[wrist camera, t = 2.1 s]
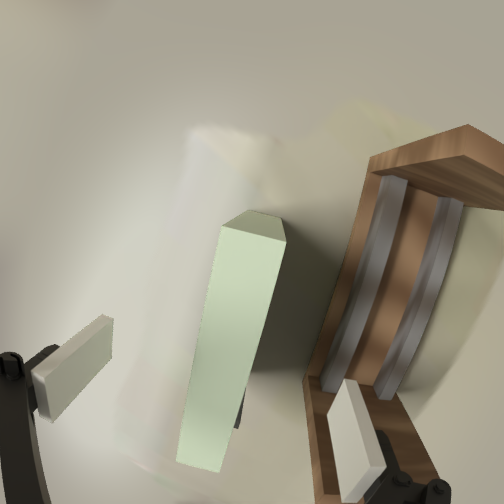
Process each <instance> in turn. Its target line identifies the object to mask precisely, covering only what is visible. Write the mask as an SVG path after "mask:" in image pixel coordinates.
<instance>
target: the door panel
mask: <svg viewBox="0 0 504 504" xmlns="http://www.w3.org/2000/svg"><path fill="white" fill-rule="evenodd" d="M286 243H287V242H286V237H285V233H284V229H283V225H282V221H281V218H278V217H274V216H270V215H266V214H262V213H258V212H254V211H250V210H247V211H245V212H244V213H242V214H240V215H239V216H237V217H235V218H234V219H232V220H230V221H229V222H227V223H226V224H224V225H222V227H221V231H220V235H219V240H218V244H217V249H216V253H215V258H214V262H213V267H212V271H211V276H210V281H209V285H208V290H207V295H206V300H205V304H204V309H203V314H202V319H201V324H200V329H199V334H198V339H197V344H196V349H195V354H194V360H193V365H192V370H191V375H190V381H189V386H188V392H187V397H186V403H185V408H184V414H183V420H182V426H181V432H180V438H179V444H178V450H177V456H176V462H179V463H183V464H186V465H190V466H193V467H197V468H201V469H204V470H208V471H212V472H217V473H219V471H220V468H221V465H222V462H223V459H224V456H225V452H226V449H227V446H228V443H229V440H230V437H231V434H232V430H233V428H237V429H238V427H239V424H240V421H241V415H242V409H243V402H244V396H245V390H246V385H247V381H248V378H249V375H250V371H251V368H252V365H253V361H254V358H255V354H256V351H257V347H258V344H259V341H260V337H261V334H262V330H263V327H264V323H265V320H266V316H267V312H268V309H269V305H270V302H271V298H272V294H273V291H274V287H275V284H276V280H277V276H278V273H279V269H280V265H281V261H282V258H283V254H284V250H285V246H286Z"/></svg>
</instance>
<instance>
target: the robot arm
mask: <svg viewBox="0 0 504 504" xmlns="http://www.w3.org/2000/svg"><path fill="white" fill-rule="evenodd" d="M112 336H113V318H111V317H108V316H105V315H103V314H102V315H101V316H99V317H98V318H97V319H95V320H94V321H93V322H91V323H90V324H89V325H88V326H86V327H85V328H84V329H82V330H81V331H80V332H79V333H78V334H76V335H75V336H73V337H72V338H71V339H70V340H68V341H67V342H66V343H65V344H63V345H62V346H61V347H60V346H58V345H56V344H54V345H51V346H48V347H46V348H44V349H43V350H42V351H41V352H40V353H38V354H36V355H35V356H34V357H33V358H31V359H30V360H29V361H27V362H26V363H25V364H24V363H23V359H22V357H21V356H20V355H19V354H17V353H15V352H4V353H2V354H0V458H1V469H2V478H3V485H4V492H5V498H6V504H51V500H50V497H49V493H48V489H47V485H46V481H45V476H44V472H43V467H42V463H41V458H40V452H39V447H38V440H37V435H36V427H35V419H34V414H33V412H34V411H35V410H36V409H37V408H38V412H39V416H40V417H42V418H43V419H45V420H47V421H49V422H50V423H53V422H54V421H55V420H56V419H57V418H58V417H59V415H60V414H61V413H62V412H63V411H64V410H65V409H66V408H67V407H68V405H69V404H70V403H71V402H72V401H73V400H74V399H75V398H76V397H77V395H78V394H79V393H80V392H81V391H82V390H83V389H84V388H85V387H86V385H87V384H88V383H89V382H90V381H91V380H92V379H93V378H94V377H95V376H96V375H97V373H98V372H99V371H100V370H101V369H102V368H103V367H104V366H105V365H106V364H107V363H108V361H110V359H111V358H112ZM327 418H328V423H329V429H330V435H331V440H332V446H333V452H334V458H335V463H336V470H337V476H338V482H339V488H340V495H341V501H342V503H357V502H358V501H359V500H360V499H361V498H362V497H364V501H365V503H364V504H450V503H451V487H450V486H449V484H448V483H447V482H446V481H444V480H442V479H437V478H436V479H432V480H431V481H430V482H429V483H428V484H427V485H425V484H420V483H416V482H413V479H412V478H411V476H410V475H409V474H407V473H406V472H403V471H401V470H400V467H399V464H398V461H397V459H396V456H395V453H394V451H393V448H392V446H391V443H390V440H389V438H388V436H387V435H386V434H385V433H384V432H383V430H374V428H373V425H372V422H371V419H370V416H369V413H368V411H367V408H366V405H365V402H364V400H363V397H362V394H361V391H360V389H359V386H358V383H357V381H356V380H349V379H344V380H343V382H342V384H341V387H340V389H339V391H338V393H337V395H336V397H335V399H334V402H333V404H332V406H331V408H330V410H329V412H328V414H327Z"/></svg>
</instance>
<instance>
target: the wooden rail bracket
mask: <svg viewBox="0 0 504 504" xmlns="http://www.w3.org/2000/svg"><path fill="white" fill-rule="evenodd" d="M463 206H468V207H477V208H485V209H493V210H501V211H504V144H502V143H500V142H499V141H497V140H495V139H494V138H492V137H490V136H489V135H487V134H485V133H483V132H482V131H480V130H478V129H476V128H474V127H473V126H471V125H469V124H467V125H464V126H461V127H457V128H455V129H451V130H448V131H445V132H442V133H439V134H436V135H433V136H430V137H427V138H424V139H421V140H418V141H415V142H412V143H409V144H406V145H403V146H400V147H398V148H395V149H392V150H389V151H386V152H383V153H381V154H378V155H375V156H372V157H370V160H369V165H368V169H367V173H366V178H365V182H364V186H363V190H362V194H361V198H360V202H359V206H358V210H357V214H356V218H355V222H354V225H353V229H352V233H351V236H350V240H349V244H348V247H347V251H346V254H345V257H344V261H343V264H342V268H341V271H340V274H339V277H338V281H337V284H336V287H335V290H334V293H333V296H332V300H331V303H330V306H329V309H328V312H327V315H326V318H325V321H324V324H323V326H322V329H321V332H320V335H319V338H318V341H317V344H316V346H315V349H314V352H313V355H312V357H311V360H310V363H309V365H308V368H307V371H306V373H305V376H304V378H303V381H302V384H303V392H304V400H305V409H306V418H307V427H308V436H309V445H310V455H311V465H312V475H313V486H314V497H315V504H364V503H365V501H364V497H362V498H361V499H360V500H359V501H358V502H357V503H342V501H341V495H340V488H339V482H338V476H337V470H336V463H335V458H334V452H333V446H332V440H331V435H330V429H329V423H328V418H327V414H328V412H329V410H330V408H331V406H332V404H333V402H334V399H335V397H336V395H337V393H338V391H339V389H340V387H341V384H342V382H343V380H344V379H349V380H356V381H357V383H358V386H359V389H360V391H361V394H362V397H363V400H364V402H365V405H366V408H367V411H368V413H369V416H370V419H371V422H372V425H373V428H374V430H383V432H384V433H385V434H386V435H387V436H388V438H389V440H390V443H391V446H392V448H393V451H394V453H395V456H396V459H397V461H398V464H399V467H400V470H401V471H403V472H406V473H407V474H409V475H410V476H411V478H412V479H413V482H416V483H420V484H425V485H427V484H428V483H429V482H430V481H431V480H432V479H436V478H437V479H440V477H439V475H438V473H437V471H436V469H435V467H434V465H433V463H432V461H431V459H430V457H429V455H428V453H427V451H426V449H425V447H424V445H423V443H422V441H421V439H420V437H419V435H418V433H417V431H416V429H415V427H414V425H413V423H412V421H411V420H410V418H409V416H408V414H407V412H406V410H405V408H404V406H403V405H402V403H401V401H400V399H399V397H398V395H397V393H396V390H397V388H398V387H399V385H400V383H401V381H402V379H403V376H404V374H405V372H406V370H407V368H408V366H409V364H410V362H411V360H412V357H413V355H414V353H415V351H416V349H417V346H418V344H419V342H420V339H421V337H422V335H423V332H424V330H425V327H426V325H427V322H428V320H429V317H430V315H431V312H432V309H433V307H434V304H435V301H436V298H437V296H438V293H439V290H440V287H441V284H442V281H443V278H444V275H445V272H446V269H447V265H448V262H449V259H450V256H451V252H452V249H453V245H454V241H455V238H456V234H457V230H458V226H459V222H460V218H461V214H462V209H463Z"/></svg>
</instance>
